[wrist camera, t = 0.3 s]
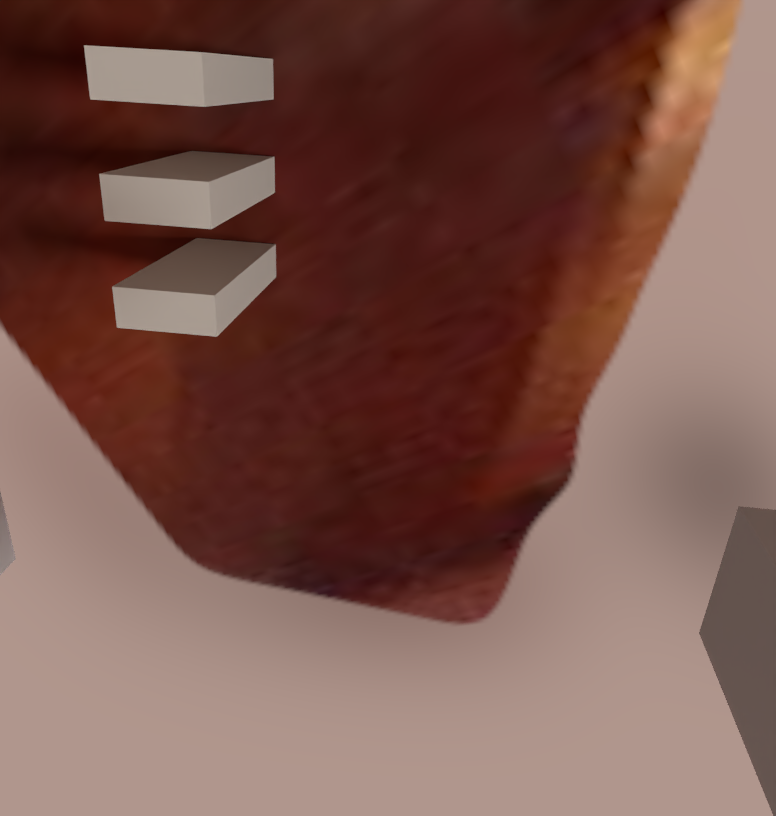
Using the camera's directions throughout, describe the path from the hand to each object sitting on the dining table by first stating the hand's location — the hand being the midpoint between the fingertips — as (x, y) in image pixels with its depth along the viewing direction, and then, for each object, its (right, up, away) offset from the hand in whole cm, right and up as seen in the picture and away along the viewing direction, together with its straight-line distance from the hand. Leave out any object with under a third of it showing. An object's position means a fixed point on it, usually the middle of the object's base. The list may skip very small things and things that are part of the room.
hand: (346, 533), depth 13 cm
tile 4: (-7, +19, +22) cm, 30 cm away
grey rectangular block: (-8, +10, +26) cm, 29 cm away
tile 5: (-7, +15, +24) cm, 29 cm away
